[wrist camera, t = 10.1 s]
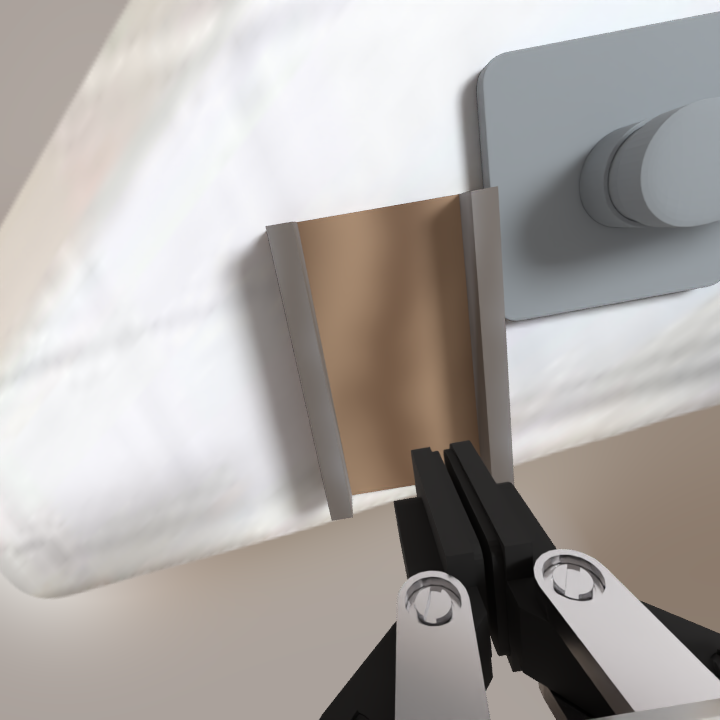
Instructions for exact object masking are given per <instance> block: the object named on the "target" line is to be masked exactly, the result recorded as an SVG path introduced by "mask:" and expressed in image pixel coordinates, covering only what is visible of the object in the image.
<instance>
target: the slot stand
mask: <svg viewBox="0 0 720 720" xmlns="http://www.w3.org/2000/svg"><path fill="white" fill-rule="evenodd" d="M266 230H267V235H268V239H269V243H270V248H271V252H272V257H273V261H274V266H275V270H276V275H277V279H278V284H279V288H280V292H281V297H282V301H283V306H284V310H285V315H286V319H287V324H288V328H289V332H290V337H291V341H292V346H293V350H294V355H295V359H296V364H297V368H298V372H299V377H300V381H301V386H302V390H303V395H304V399H305V404H306V408H307V413H308V417H309V421H310V426H311V430H312V435H313V439H314V444H315V448H316V453H317V457H318V461H319V466H320V470H321V475H322V479H323V484H324V488H325V493H326V497H327V501H328V506H329V510H330V515H331V519H332V520H339V519H345V518H351V517H353V509H352V495H356V494H362V493H368V492H374V491H380V490H386V489H393V488H399V487H405V486H411V485H415V479H414V472H413V465H412V458H411V450H414V449H420V448H426V447H430V448H431V450H432V452H433V451H439V453H440V455H441V458H442V460H443V462H444V453H443V451H444V450H445V449H449V445H450V443H455V442H461V441H467V440H470V442H471V443H472V445H473V446H474V448H475V450H476V451H477V453H478V455H479V456H480V458H481V459H482V461H483V463H484V464H485V466H486V468H487V469H488V471H489V472H490V474H491V476H492V477H493V479H494V481H495V482H496V484H497V483H503V482H511V483H512V484H513V485H514V476H513V455H512V437H511V418H510V399H509V380H508V362H507V343H506V324H505V305H504V287H503V268H502V249H501V230H500V212H499V193H498V186H496V187H490V188H484V189H479V190H473V191H469V192H465V193H462V194H458V195H452V196H446V197H440V198H435V199H429V200H423V201H417V202H412V203H406V204H400V205H394V206H389V207H383V208H377V209H371V210H365V211H360V212H354V213H348V214H342V215H337V216H331V217H325V218H319V219H313V220H308V221H302V222H288V223H282V224H277V225H271V226H266ZM444 464H445V463H444Z"/></svg>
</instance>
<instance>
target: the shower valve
mask: <svg viewBox="0 0 720 720" xmlns="http://www.w3.org/2000/svg"><path fill="white" fill-rule="evenodd" d="M477 105H478V119H479V132H480V145H481V158H482V172H483V185H484V188H490V187H496V186H498V193H499V212H500V230H501V249H502V268H503V287H504V305H505V318H506V319H508V320H513V321H521V320H526V319H532V318H537V317H543V316H548V315H554V314H559V313H565V312H571V311H576V310H582V309H587V308H593V307H598V306H604V305H609V304H615V303H620V302H626V301H631V300H637V299H642V298H648V297H653V296H659V295H664V294H670V293H675V292H681V291H686V290H692V289H697V288H703V287H708V286H711V285H714V284H716V283H718V282H719V281H720V11H719V12H714V13H709V14H703V15H698V16H693V17H688V18H683V19H677V20H672V21H667V22H662V23H656V24H651V25H646V26H641V27H636V28H630V29H625V30H620V31H615V32H610V33H604V34H599V35H594V36H589V37H583V38H578V39H573V40H568V41H563V42H557V43H552V44H547V45H542V46H536V47H531V48H526V49H521V50H516V51H510V52H506V53H502V54H500V55H498V56H496V57H495V58H493V59H492V60H491V61H490V62H489V63H488V64H487V65H486V66H485V68H484V69H483V70H482V71H481V73H480V75H479V78H478V82H477Z"/></svg>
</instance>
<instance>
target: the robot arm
mask: <svg viewBox="0 0 720 720" xmlns="http://www.w3.org/2000/svg"><path fill="white" fill-rule="evenodd" d="M443 453H444V462H443V460H442V458H441V455H440V453H439V451H433V452H432V450H431V448H430V447H426V448H420V449H414V450H411V458H412V465H413V472H414V479H415V486H416V493H417V497H415V498H409V499H403V500H397V501H394V507H395V513H396V519H397V525H398V531H399V537H400V543H401V548H402V553H403V559H404V564H405V569H406V573H407V579H408V580H407V581H406V582H405V583H404V584H403V585H402V587H401V589H400V591H399V594H398V599H397V621H396V622H395V623H394V625H393V626H392V627H391V628H390V630H389V631H388V632H387V633H386V635H385V636H384V637H383V638H382V640H381V641H380V642H379V644H378V645H377V646H376V647H375V649H374V650H373V651H372V652H371V654H370V655H369V656H368V657H367V659H366V660H365V661H364V662H363V664H362V665H361V666H360V667H359V669H358V670H357V671H356V673H355V674H354V675H353V676H352V678H351V679H350V680H349V681H348V683H347V684H346V685H345V686H344V688H343V689H342V690H341V692H340V693H339V694H338V695H337V697H336V698H335V699H334V700H333V702H332V703H331V704H330V705H329V707H328V708H327V709H326V710H325V712H324V713H323V714H322V716H321V718H320V719H319V720H490V714H489V709H488V703H487V697H486V690H487V688H488V686H489V684H490V682H491V680H492V678H493V674H492V663H491V657H492V651H491V639H492V641H493V644H494V647H495V649H496V651H497V654H498V655H499V656H503V655H506V656H507V658H508V660H509V663H510V666H511V668H512V671H513V672H517V671H523V673H525V674H526V675H528V676H530V677H531V678H533V679H535V680H536V681H538V682H539V688H540V690H541V693H542V695H543V698H544V699H545V701H546V703H547V705H548V706H549V708H550V710H551V712H552V713H553V715H554V717H555V718H556V720H720V634H719V633H717V632H715V631H712V630H710V629H707V628H705V627H703V626H700V625H697V624H695V623H693V622H691V621H688V620H686V619H683V618H681V617H678V616H676V615H674V614H671V613H669V612H666V611H664V610H662V609H659V608H657V607H654V606H652V605H649V604H647V603H645V602H642V601H640V600H638V599H637V598H636V597H635V596H634V595H633V594H632V593H631V592H630V591H629V590H628V589H627V588H626V587H625V586H624V585H623V584H622V583H621V582H620V581H619V580H618V579H617V578H616V577H615V576H614V575H613V574H612V573H611V572H610V571H609V570H608V569H607V568H606V567H605V566H604V565H602V564H601V563H600V562H598V561H597V560H596V559H595V558H593V557H591V556H589V555H587V554H585V553H582V552H578V551H574V550H568V549H556V547H555V546H554V545H553V543H552V541H551V540H550V538H549V537H548V536H547V534H546V533H545V531H544V530H543V528H542V527H541V526H540V524H539V522H538V521H537V519H536V518H535V517H534V515H533V513H532V512H531V510H530V509H529V508H528V506H527V505H526V503H525V502H524V500H523V499H522V497H521V496H520V494H519V493H518V491H517V490H516V488H515V487H514V485H513V484H512V483H511V482H503V483H497V484H496V482H495V481H494V479H493V477H492V476H491V474H490V472H489V471H488V469H487V468H486V466H485V464H484V463H483V461H482V459H481V458H480V456H479V455H478V453H477V451H476V450H475V448H474V446H473V445H472V443H471V442H470V440H467V441H461V442H455V443H450V445H449V449H445V450H444V451H443ZM444 463H445V464H444ZM490 636H491V639H490Z"/></svg>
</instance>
